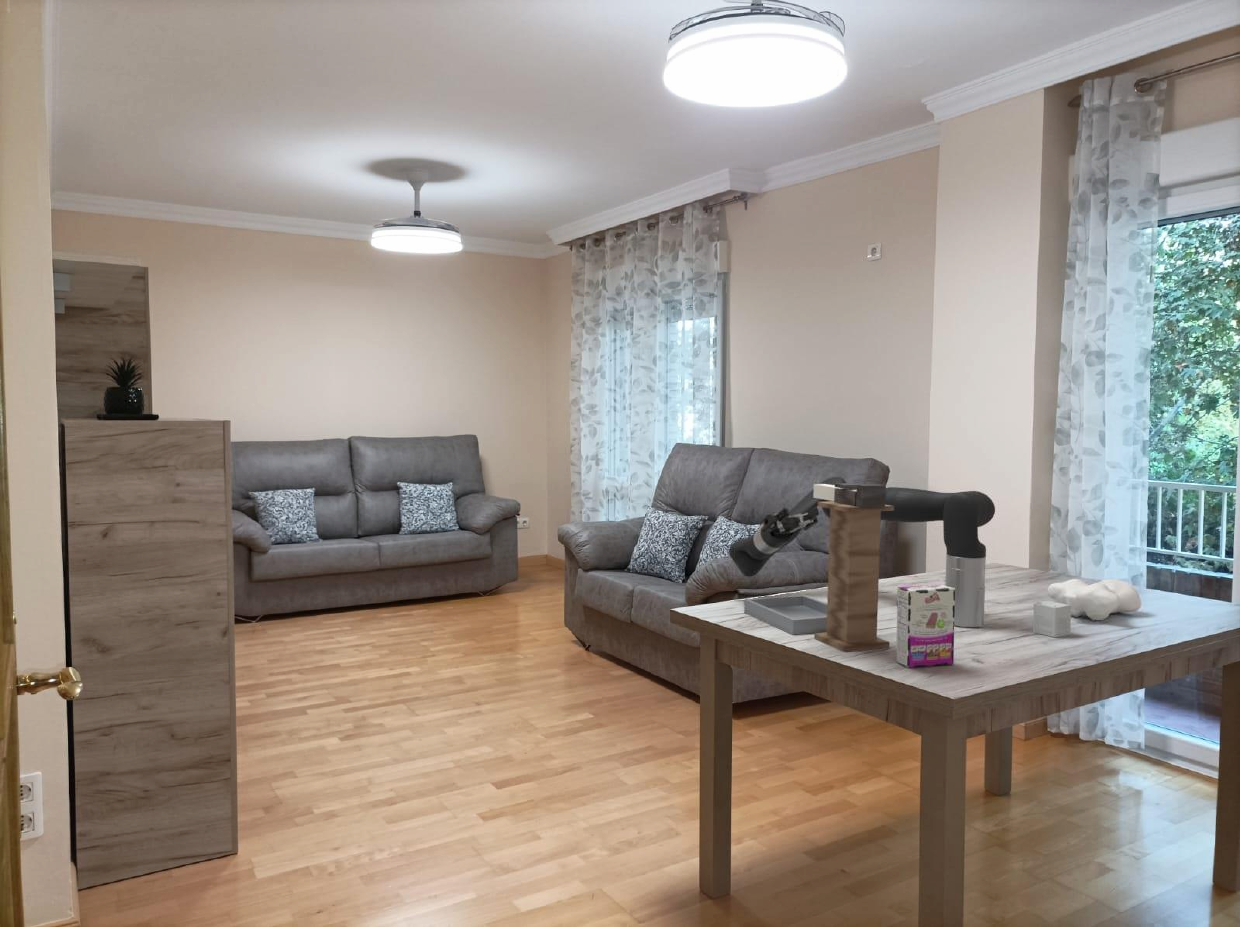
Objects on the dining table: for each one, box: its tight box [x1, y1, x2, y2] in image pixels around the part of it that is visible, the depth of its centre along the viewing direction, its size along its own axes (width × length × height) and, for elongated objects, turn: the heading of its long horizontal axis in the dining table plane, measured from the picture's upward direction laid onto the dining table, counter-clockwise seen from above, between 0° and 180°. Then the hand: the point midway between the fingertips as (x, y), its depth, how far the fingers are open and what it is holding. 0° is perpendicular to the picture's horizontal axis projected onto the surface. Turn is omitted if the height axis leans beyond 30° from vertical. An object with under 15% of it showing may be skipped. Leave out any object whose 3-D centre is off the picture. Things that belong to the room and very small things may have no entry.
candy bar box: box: [895, 584, 955, 669], centre depth 194 cm, size 11×5×16 cm, turn 105°
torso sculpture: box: [1047, 578, 1142, 621], centre depth 239 cm, size 18×10×25 cm
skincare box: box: [1032, 600, 1072, 638], centre depth 221 cm, size 6×6×7 cm
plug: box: [813, 483, 857, 501], centre depth 213 cm, size 19×3×3 cm, turn 21°
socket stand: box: [813, 482, 894, 653], centre depth 209 cm, size 13×12×37 cm
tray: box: [743, 594, 827, 636], centre depth 231 cm, size 24×18×4 cm
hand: (802, 510), depth 229 cm, fingers open, 8 cm apart
